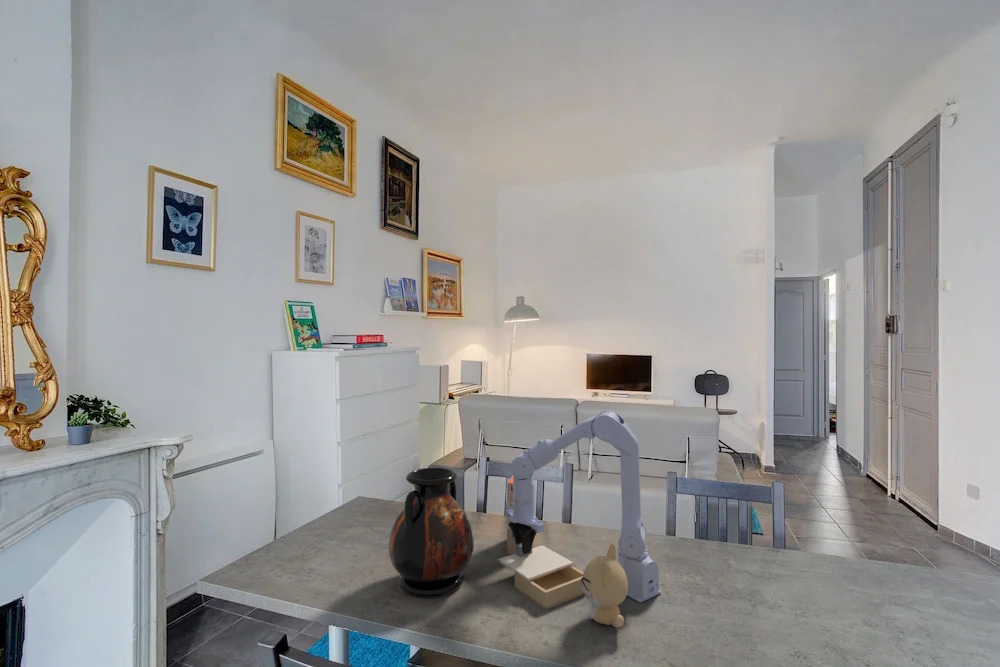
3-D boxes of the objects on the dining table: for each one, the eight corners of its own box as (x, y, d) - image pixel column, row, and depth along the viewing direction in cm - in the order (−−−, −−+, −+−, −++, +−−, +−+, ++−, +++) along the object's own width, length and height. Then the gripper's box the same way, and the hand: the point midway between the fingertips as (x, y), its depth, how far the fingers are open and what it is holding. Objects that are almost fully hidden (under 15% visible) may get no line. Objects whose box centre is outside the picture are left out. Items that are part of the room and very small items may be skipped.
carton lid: (573, 564, 124) (573, 552, 124) (528, 580, 116) (528, 567, 116) (542, 547, 135) (542, 535, 135) (498, 561, 126) (498, 548, 126)
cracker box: (527, 557, 138) (526, 483, 138) (506, 555, 139) (506, 482, 140) (533, 537, 152) (533, 470, 152) (514, 536, 153) (514, 469, 153)
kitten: (589, 597, 116) (588, 535, 117) (632, 606, 113) (631, 541, 113) (575, 633, 102) (575, 561, 103) (623, 643, 99) (623, 569, 99)
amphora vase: (426, 557, 138) (425, 459, 139) (489, 576, 127) (489, 469, 127) (369, 591, 120) (369, 477, 120) (439, 616, 109) (438, 491, 109)
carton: (589, 592, 119) (589, 575, 119) (545, 610, 111) (545, 592, 111) (557, 572, 129) (557, 557, 129) (514, 588, 121) (514, 572, 121)
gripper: (496, 495, 133) (496, 545, 133) (528, 510, 121) (528, 565, 121) (516, 490, 137) (516, 538, 137) (550, 505, 125) (550, 557, 125)
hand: (523, 550), depth 129 cm, fingers closed on carton lid, 2 cm apart
